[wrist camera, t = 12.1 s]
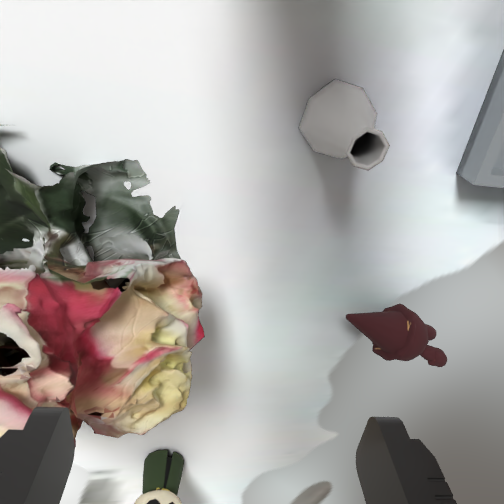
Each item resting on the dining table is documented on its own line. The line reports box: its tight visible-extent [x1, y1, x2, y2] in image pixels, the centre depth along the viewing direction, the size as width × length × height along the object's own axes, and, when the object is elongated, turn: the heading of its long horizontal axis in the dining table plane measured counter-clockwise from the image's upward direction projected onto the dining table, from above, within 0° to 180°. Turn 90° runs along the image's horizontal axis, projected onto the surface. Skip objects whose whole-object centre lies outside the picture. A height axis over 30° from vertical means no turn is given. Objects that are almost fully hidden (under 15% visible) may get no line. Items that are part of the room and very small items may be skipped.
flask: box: [299, 79, 390, 170], centre depth 35 cm, size 7×7×10 cm
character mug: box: [134, 450, 184, 504], centre depth 60 cm, size 11×7×13 cm, turn 66°
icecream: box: [346, 304, 447, 367], centre depth 50 cm, size 7×7×15 cm
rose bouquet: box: [0, 125, 204, 447], centre depth 33 cm, size 26×29×30 cm
